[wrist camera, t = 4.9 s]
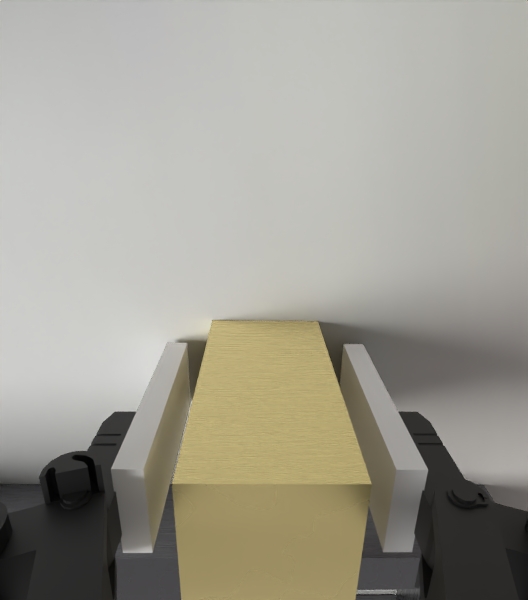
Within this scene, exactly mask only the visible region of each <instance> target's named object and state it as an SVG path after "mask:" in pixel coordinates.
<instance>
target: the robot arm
mask: <svg viewBox="0 0 528 600" xmlns="http://www.w3.org/2000/svg"><path fill="white" fill-rule="evenodd" d="M339 387H340V390H341V393H342V396H343V399H344V402H345V405H346V408H347V411H348V414H349V417H350V420H351V423H352V426H353V429H354V432H355V435H356V438H357V441H358V444H359V447H360V450H361V453H362V456H363V459H364V462H365V465H366V468H367V471H368V474H369V477H370V480H371V483H372V487H371V494H370V501H369V508H370V511H371V514H372V518H373V521H374V524H375V527H376V531H377V534H378V537H379V541H380V544H381V547H382V550H383V552H412V549H413V544H414V539H415V537H416V539H417V542H418V544H419V547H420V550H421V552H422V553H421V557H420V562H419V567H418V572H417V576H416V581H415V587H416V588H419V586H420V598H421V600H528V512H527V511H523V510H519V509H515V508H511V507H507V506H503V505H500V504H497V503H494V502H492V501H491V499H490V497H489V495H488V494H487V493H486V492H485V491H484V490H483V489H482V488H481V487H479V486H477V485H476V484H474V483H472V482H471V481H468V480H465V479H464V477H463V475H462V474H461V472H460V471H459V469H458V467H457V466H456V464H455V462H454V461H453V459H452V457H451V456H450V454H449V453H448V451H447V449H446V448H445V446H443V443H442V441H441V440H440V438H439V436H437V433H436V431H435V430H434V428H433V426H432V425H431V423H430V422H429V421H428V420H427V419H425V418H424V417H423V416H422V415H421V414H419V413H418V412H398V411H397V409H396V407H395V405H394V403H393V401H392V399H391V397H390V395H389V393H388V391H387V389H386V387H385V385H384V384H383V382H382V380H381V378H380V376H379V374H378V372H377V370H376V368H375V366H374V364H373V362H372V360H371V358H370V357H369V355H368V353H367V351H366V349H365V347H364V345H363V344H343V354H342V365H341V376H340V386H339ZM189 407H190V385H189V367H188V349H187V343H167V344H166V347H165V349H164V351H163V353H162V356H161V358H160V360H159V362H158V365H157V367H156V369H155V371H154V374H153V376H152V378H151V380H150V383H149V385H148V387H147V389H146V391H145V394H144V396H143V398H142V400H141V403H140V405H139V407H138V409H137V412H114V413H113V414H112V415H111V416H110V417H108V418H107V419H106V420H105V421H104V422H103V423H102V425H101V427H100V429H99V430H98V432H97V436H95V438H94V439H93V441H92V443H91V446H90V447H89V449H88V450H87V452H86V451H76V452H71V453H67V454H64V455H61V456H59V457H58V458H56V459H54V460H52V461H51V462H50V463H49V464H48V465H47V466H46V467H44V468H43V470H42V472H41V474H40V476H39V479H40V483H41V488H42V492H43V497H44V501H45V503H43V504H41V505H38V506H35V507H31V508H27V509H23V510H19V511H15V512H11V513H8V511H7V508H6V505H4V504H3V503H1V502H0V600H117V565H116V559H115V554H116V551H117V548H118V545H119V542H120V539H121V543H122V549H123V553H153V549H154V545H155V541H156V537H157V533H158V529H159V526H160V522H161V518H162V514H163V510H164V506H165V502H166V498H167V494H168V490H169V486H170V482H171V478H172V474H173V470H174V466H175V463H176V459H177V455H178V451H179V447H180V443H181V439H182V435H183V431H184V427H185V423H186V419H187V415H188V411H189Z"/></svg>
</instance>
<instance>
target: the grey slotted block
mask: <svg viewBox="0 0 528 600" xmlns="http://www.w3.org/2000/svg"><path fill="white" fill-rule="evenodd" d="M477 486H479V487H481V488H482V489H483V490H484V491H485V492H486V493H487V494H488V495H489V497H490V499H491V501H492V502H494V501H493V499H492V497H491V496H490V494H489V493H488V491H487V490H486V488H485V487H484V485H477ZM0 502H1V503H3V504H4V505H6V508H7V511H8V513H11V512H15V511H19V510H23V509H27V508H31V507H35V506H38V505H41V504H43V503H45V501H44V497H43V492H42V488H41V485H0ZM494 503H495V502H494ZM421 553H422V552H421V550H420V547H419V544H418V542H417V539H416V537H415V539H414V544H413V549H412V552H383V550H382V547H381V544H380V541H379V537H378V534H377V531H376V527H375V524H374V521H373V518H372V514H371V511H370V508H368V515H367V522H366V529H365V536H364V543H363V550H362V557H361V564H360V571H359V578H358V585H357V590H374V589H398V590H397V595H356V599H355V600H421V598H420V586H419V588H416V587H415V581H416V576H417V572H418V567H419V562H420V557H421ZM115 559H116V565H117V600H181V589H180V577H179V565H178V552H177V540H176V528H175V516H174V503H173V491H172V485H170V486H169V490H168V494H167V498H166V502H165V506H164V510H163V514H162V518H161V522H160V526H159V529H158V533H157V537H156V541H155V545H154V549H153V553H123V549H122V543H121V539H120V542H119V545H118V548H117V551H116V554H115Z"/></svg>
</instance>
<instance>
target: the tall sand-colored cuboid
mask: <svg viewBox="0 0 528 600" xmlns="http://www.w3.org/2000/svg"><path fill="white" fill-rule="evenodd" d="M371 487H372V483H371V480H370V477H369V474H368V471H367V468H366V465H365V462H364V459H363V456H362V453H361V450H360V447H359V444H358V441H357V438H356V435H355V432H354V429H353V426H352V423H351V420H350V417H349V414H348V411H347V408H346V405H345V402H344V399H343V396H342V393H341V390H340V387H339V384H338V381H337V378H336V375H335V372H334V369H333V366H332V363H331V360H330V357H329V354H328V351H327V348H326V345H325V342H324V338H323V335H322V332H321V329H320V326H319V323H318V321H221V320H212V324H211V328H210V332H209V336H208V340H207V344H206V348H205V352H204V356H203V360H202V364H201V368H200V372H199V376H198V380H197V384H196V388H195V393H194V397H193V401H192V405H191V409H190V413H189V417H188V421H187V425H186V429H185V433H184V437H183V441H182V445H181V449H180V453H179V457H178V461H177V466H176V470H175V474H174V478H173V482H172V491H173V503H174V516H175V528H176V540H177V552H178V565H179V577H180V589H181V600H355V599H356V592H357V585H358V578H359V571H360V564H361V557H362V550H363V543H364V536H365V529H366V522H367V515H368V508H369V501H370V494H371Z"/></svg>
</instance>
